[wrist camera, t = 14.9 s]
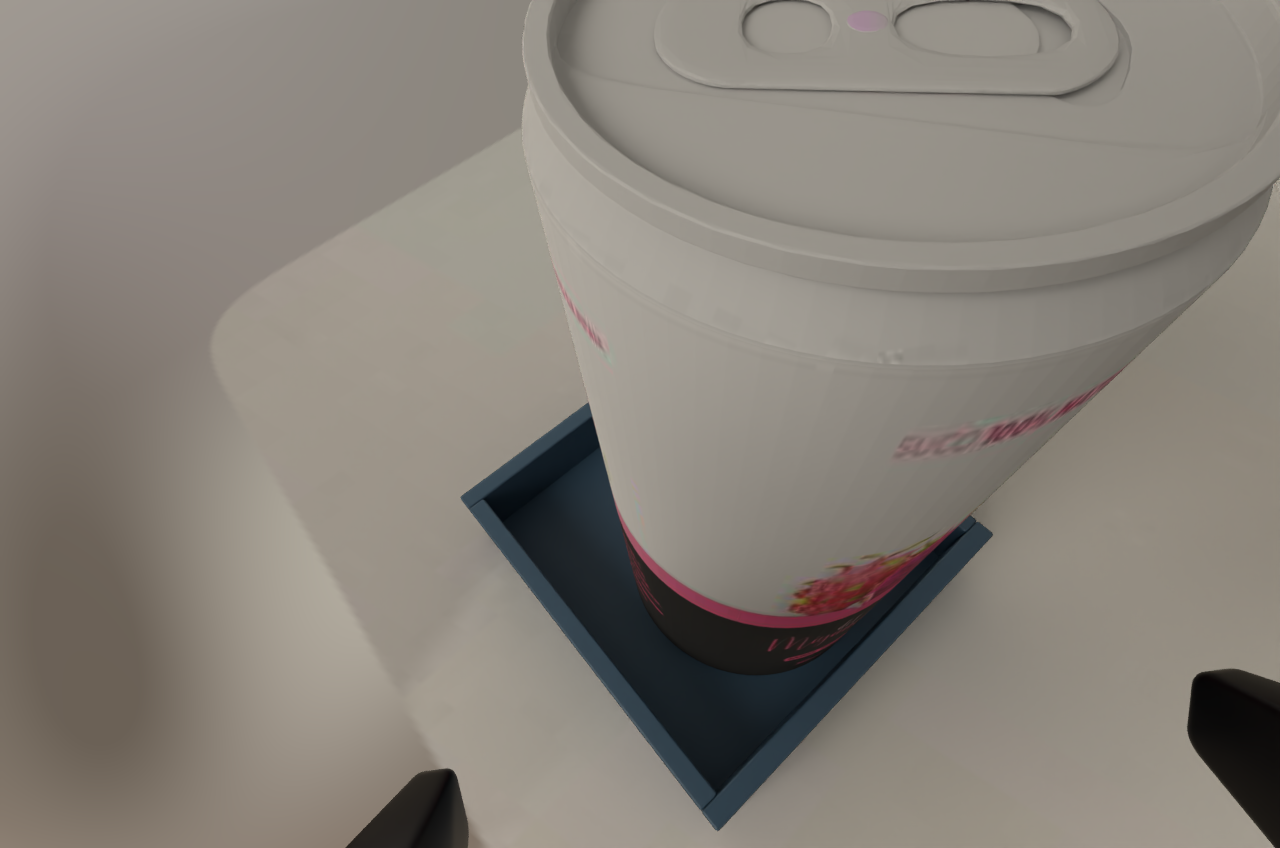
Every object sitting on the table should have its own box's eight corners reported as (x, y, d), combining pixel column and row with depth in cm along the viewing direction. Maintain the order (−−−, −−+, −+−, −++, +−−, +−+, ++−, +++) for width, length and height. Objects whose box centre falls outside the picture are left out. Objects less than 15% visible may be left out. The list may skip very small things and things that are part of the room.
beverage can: (862, 697, 16) (1593, 336, 3) (616, 658, 17) (382, 253, 4) (857, 472, 19) (1206, -165, 6) (651, 449, 20) (585, -149, 7)
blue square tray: (958, 563, 18) (994, 533, 16) (713, 825, 15) (717, 832, 13) (710, 355, 23) (712, 309, 20) (484, 527, 20) (459, 496, 18)
